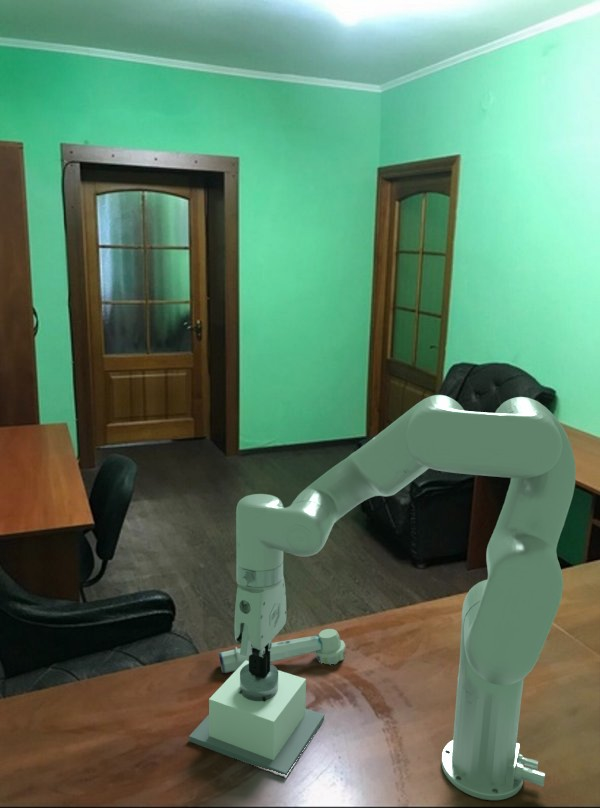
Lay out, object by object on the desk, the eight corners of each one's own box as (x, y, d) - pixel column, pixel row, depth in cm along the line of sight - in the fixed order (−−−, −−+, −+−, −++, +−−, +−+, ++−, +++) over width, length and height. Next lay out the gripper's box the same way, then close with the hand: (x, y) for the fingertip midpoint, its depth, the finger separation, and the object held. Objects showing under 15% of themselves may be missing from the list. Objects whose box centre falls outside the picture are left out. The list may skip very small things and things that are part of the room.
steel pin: (284, 714, 113) (284, 667, 111) (266, 737, 107) (267, 689, 105) (251, 703, 116) (251, 657, 114) (232, 725, 110) (232, 678, 108)
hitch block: (324, 719, 115) (325, 679, 113) (286, 778, 102) (286, 733, 100) (235, 689, 122) (235, 651, 121) (189, 741, 109) (188, 698, 107)
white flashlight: (217, 646, 130) (339, 618, 134) (222, 675, 131) (342, 647, 136) (220, 661, 125) (346, 632, 129) (225, 691, 126) (349, 662, 131)
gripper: (257, 597, 97) (257, 705, 101) (300, 557, 111) (298, 655, 115) (214, 586, 101) (216, 691, 104) (261, 548, 114) (261, 643, 118)
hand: (259, 672), depth 110 cm, fingers closed
